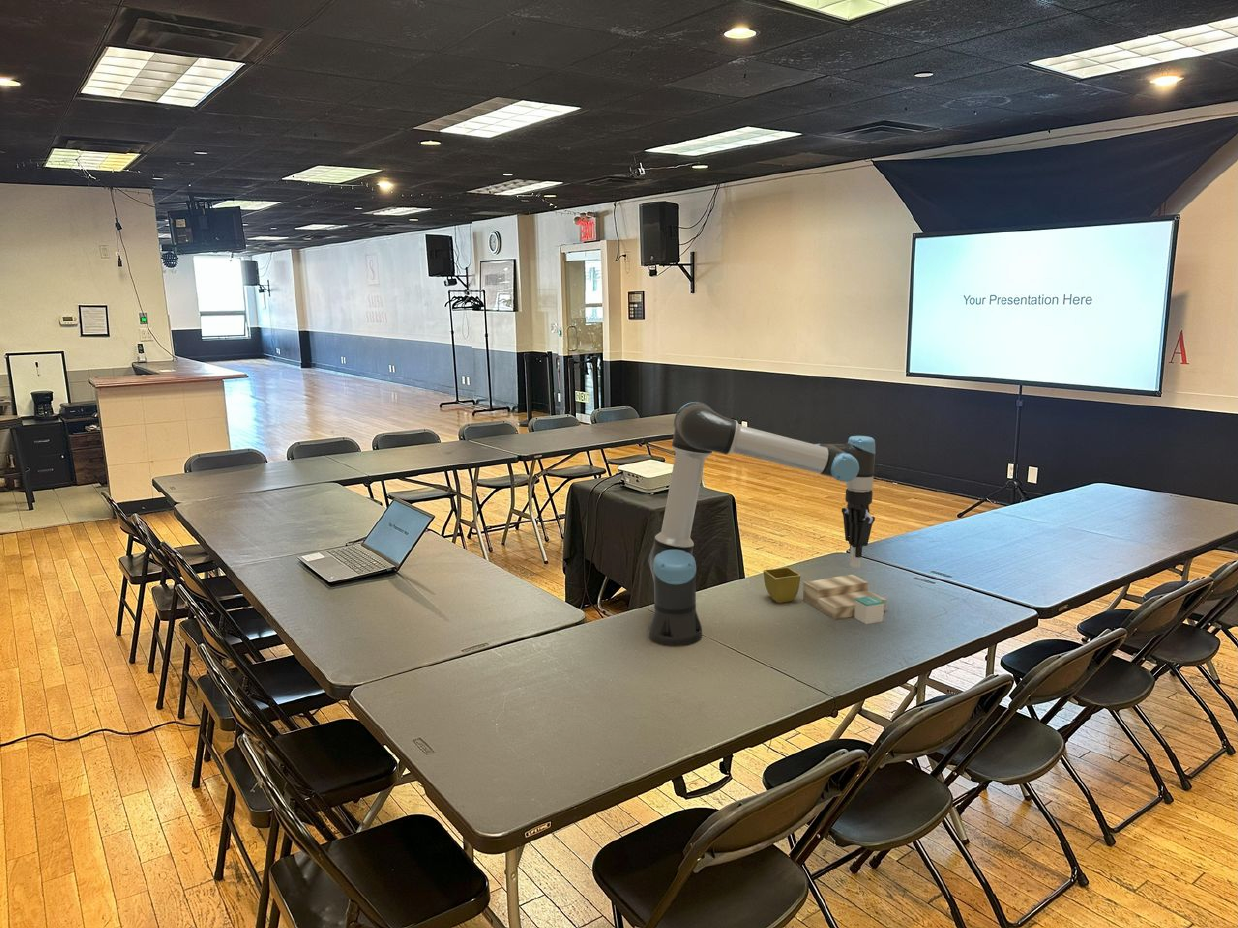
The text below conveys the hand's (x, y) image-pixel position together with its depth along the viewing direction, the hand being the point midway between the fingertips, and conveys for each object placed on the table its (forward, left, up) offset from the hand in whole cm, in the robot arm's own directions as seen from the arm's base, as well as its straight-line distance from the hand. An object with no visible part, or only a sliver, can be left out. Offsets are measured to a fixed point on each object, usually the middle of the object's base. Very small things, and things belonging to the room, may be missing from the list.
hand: (854, 566), depth 237 cm
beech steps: (0, +5, -14) cm, 15 cm away
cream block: (+1, -7, -8) cm, 11 cm away
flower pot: (-15, +17, -14) cm, 27 cm away
